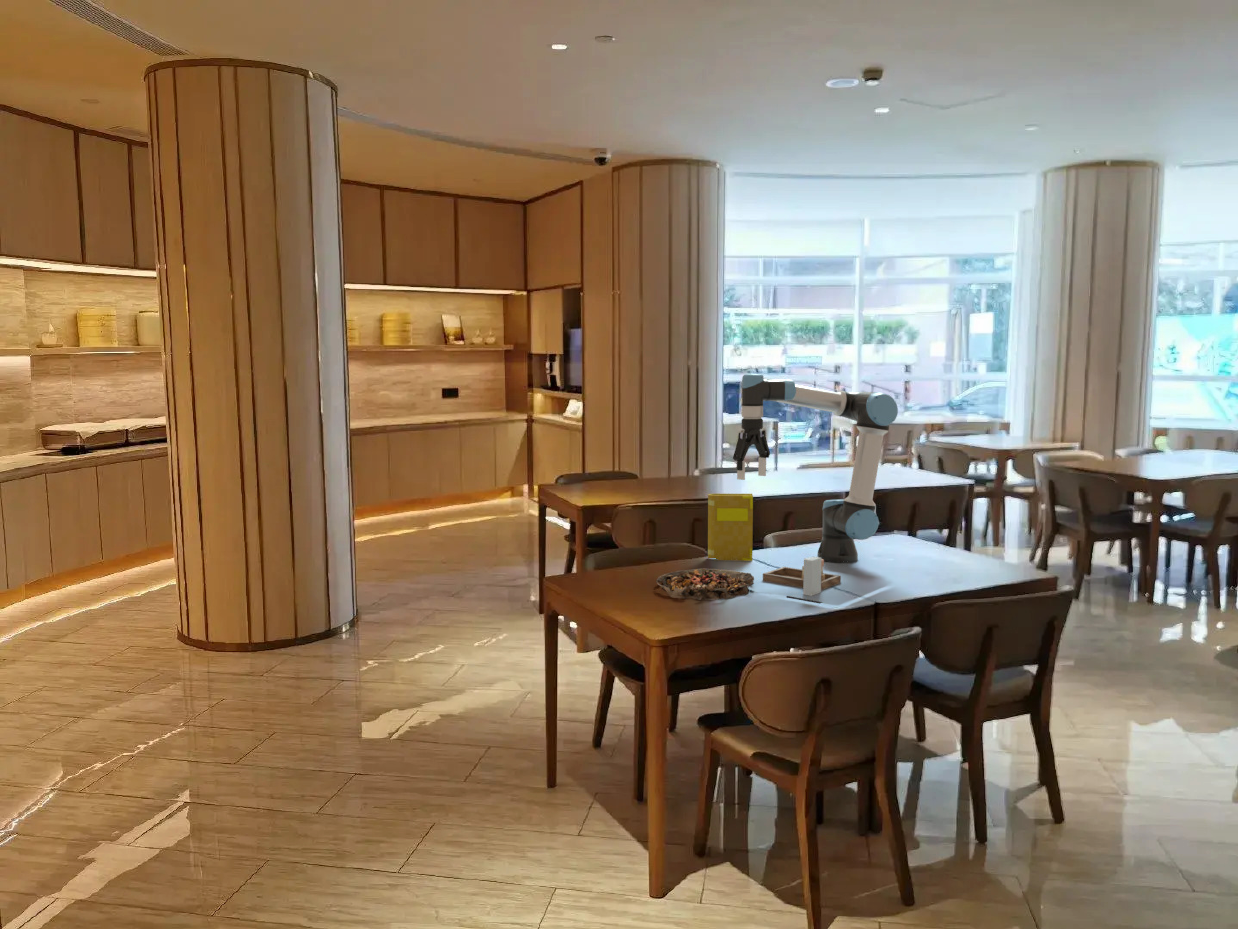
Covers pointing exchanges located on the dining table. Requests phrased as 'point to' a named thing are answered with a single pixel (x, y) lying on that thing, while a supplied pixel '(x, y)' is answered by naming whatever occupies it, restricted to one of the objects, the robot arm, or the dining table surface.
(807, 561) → the white rectangular block
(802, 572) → the offcut
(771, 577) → the wooden tray
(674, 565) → the dining table surface
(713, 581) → the food dish
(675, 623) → the dining table surface
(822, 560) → the offcut
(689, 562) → the dining table surface
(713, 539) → the book
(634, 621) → the dining table surface
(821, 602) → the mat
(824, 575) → the offcut
